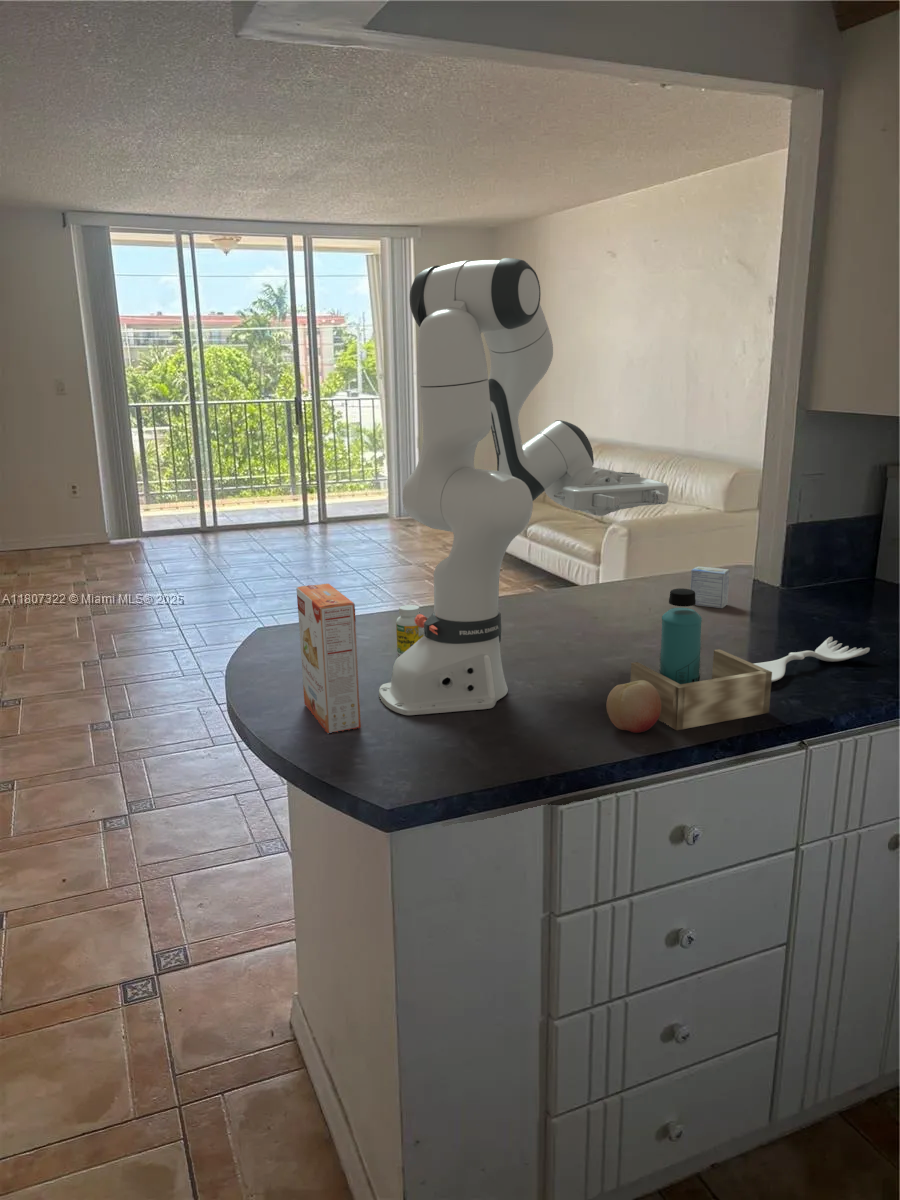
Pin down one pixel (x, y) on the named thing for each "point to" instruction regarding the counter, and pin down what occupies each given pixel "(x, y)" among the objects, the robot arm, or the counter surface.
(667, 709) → the box
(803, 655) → the white long slender part
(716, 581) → the medicine box
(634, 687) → the fruit
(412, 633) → the supplement bottle
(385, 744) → the counter surface
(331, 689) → the cracker box
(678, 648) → the beverage bottle
